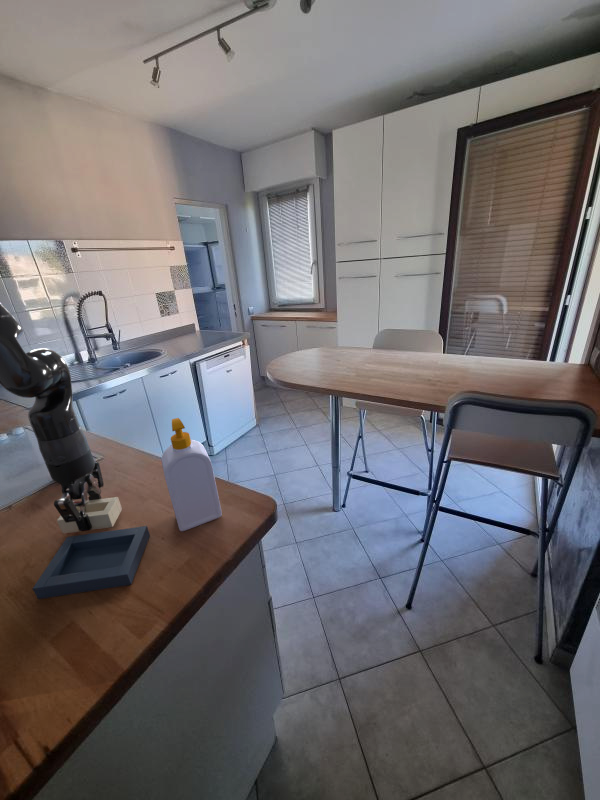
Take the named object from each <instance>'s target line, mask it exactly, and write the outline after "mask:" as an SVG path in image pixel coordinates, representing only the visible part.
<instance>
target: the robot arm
mask: <svg viewBox="0 0 600 800" xmlns="http://www.w3.org/2000/svg"><path fill="white" fill-rule="evenodd" d="M23 334H24V329H23V327H22V326H21V324H20V323H19V322H18V321H17V319H16V318H15V317H14V316H13V315H12V314H11V313H10V312H9V311H8V310H7V308H5V306H3V304H2V303H1V302H0V386H1V387H2V388H3V389H5V390H6V391H7V392H9V393H11V394H13V395H14V396H17V397H21V398H25V399H32V398H35V400H34V403H33V404H32V406H31V408H30V409H29V410H28V412H27V418H28V421H29V424H30V426H31V429H32V431H33V433H34V436H35V438H36V440H37V444H38V449H39V452H40V454H41V456H42V459H43V461H44V464H45V466H46V468H47V471H48V473H49V475H50V477H51V480H52V481H54V482H55V483H57V484H59V485H60V486H61V493H62V495H61V497H60V498H59V499H55V500H54V502H53V506H54V508H55V509H56V511H57V512H58V514H59V515H60V516H62V518H63V519H64V521H65V522H66V523H68V522H74V521H75V522H76V524H77V526H78V529H79V530H80V531H79V532H89V531H92V530H91V528H92V525H91V522H90V520H89V517H88V514H87V513H86V504H87V503H88V500H97V499H102V495H101V494H102V489H101V488H103V487H104V479H103V474H102V471H101V466H100V463H99V461H95V460H94V456H93V453H92V450H91V448H90V445H89V443H88V439H87V436H86V435H85V433H84V431H83V429H82V427H81V425H80V422H79V419H78V416H77V413H76V410H75V408H74V401H73V396H74V394H73V385H72V376H71V372H70V371H71V370H70V369H69V366H68V364H67V362H66V361H65V360H64V358H63V357H62V355H60V354H59V353H57V352H56V351H54V350H52V349H49V348H36V349H33V350H30V351H28V352H25V350H24V349H23V347H22V346H21V344H20V342H19V341H18V340H19V339H20V338H21V337H22V335H23ZM96 479H97V480H96ZM76 500H78V501H76ZM78 506H79V507H80V511H78V510H77V508H76V507H78Z"/></svg>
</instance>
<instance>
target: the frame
mask: <svg viewBox="0 0 600 800" xmlns="http://www.w3.org/2000/svg"><path fill="white" fill-rule="evenodd" d="M76 508H77V510H78V511H80V507H79V506H78V507H76ZM122 510H123V508H122V505H121V501H120V500H119V497H118V496H115V497H105V498H101V499H97V500H89V499H88V503H87V504H86V513H87V514H88V517H89V520H90V522H91V525H92V528H91V530H90V531H93V530H100V529H107V528H114V526H115V523H116V521H117V520H118V518H119V516H120V514H121V512H122ZM56 522H57V524H58V527H59V529H60V531H61V533H62V534H69V533H77V532H81V531H80V530H79V529H78V526H77V524H76V522H75V521H74V522H68V523H66V522H65V521H64V519H63V518H62V516H61V515H60V516H59V517H58V518H57V520H56Z"/></svg>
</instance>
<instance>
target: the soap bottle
mask: <svg viewBox="0 0 600 800" xmlns="http://www.w3.org/2000/svg"><path fill="white" fill-rule="evenodd" d="M184 429H186V427H185V425H184V423H183V421H182V420H181V418H179V417H176V418H172V419H171V430H172V432H175V433H174V434H172V436H171V437H170V442H171V444H170V445H169V446H168V447H166V448H165V450H163V451H164V452H163V453H162V455H161V466H162V471H163V475H164V480H165V484H166V487H167V490H168V494H169V497H170V501H171V504H172V508H173V512H174V516H175V519H176V524H177V527H178V530H179V531H180V532H184V531H187V530H190V529H193V528H195V527H198V526H202V525H203V524H205V523H208V522H212V521H214V520H217V519H219V518H221V517H222V515H223V511H222V507H221V502H220V498H219V492H218V487H217V483H216V478H215V473H214V467H213V463H212V460H211V458H210V456H209V454H208V452H207V450H206V447H205V446H204V445H203V443H201V442H200V441H198V440H195V439H191V435H190V433H189V432H187V431H183V430H184Z"/></svg>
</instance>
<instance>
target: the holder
mask: <svg viewBox="0 0 600 800" xmlns="http://www.w3.org/2000/svg"><path fill="white" fill-rule="evenodd" d="M150 537H151V534H150V530H149V528H148V525H142V526H135V527H128V528H121V529H115V530H107V531H106V530H105V531H98V532H92V533H86V534H85V533H84V534H79V535H72V536H67V537H65V540H64V541H63V542H62V544H61V546H60V547H59V548H58V550H57V551H56V553H55V554H54V556H53V557H52V559H51V560H50V561H49V563H48V564H47V566H46V568H45V569H44V571H43V572H42V574H41V575H40V576H39V578H38V579H37V581H36V582H35V584H34V586H33V587H32V591H33V593H34V594H35V597H36V598H37V599H38V600H40V599H41V600H43V599H48V598H55V597H61V596H67V595H73V594H81V593H86V592H87V593H88V592H93V591H100V590H106V589H112V588H118V587H119V588H120V587H125V586H131V585H132V584H133V581H134V579H135V576H136V573H137V571H138V568H139V565H140V563H141V560H142V557H143V555H144V552H145V550H146V547H147V545H148V542H149V539H150Z"/></svg>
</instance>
